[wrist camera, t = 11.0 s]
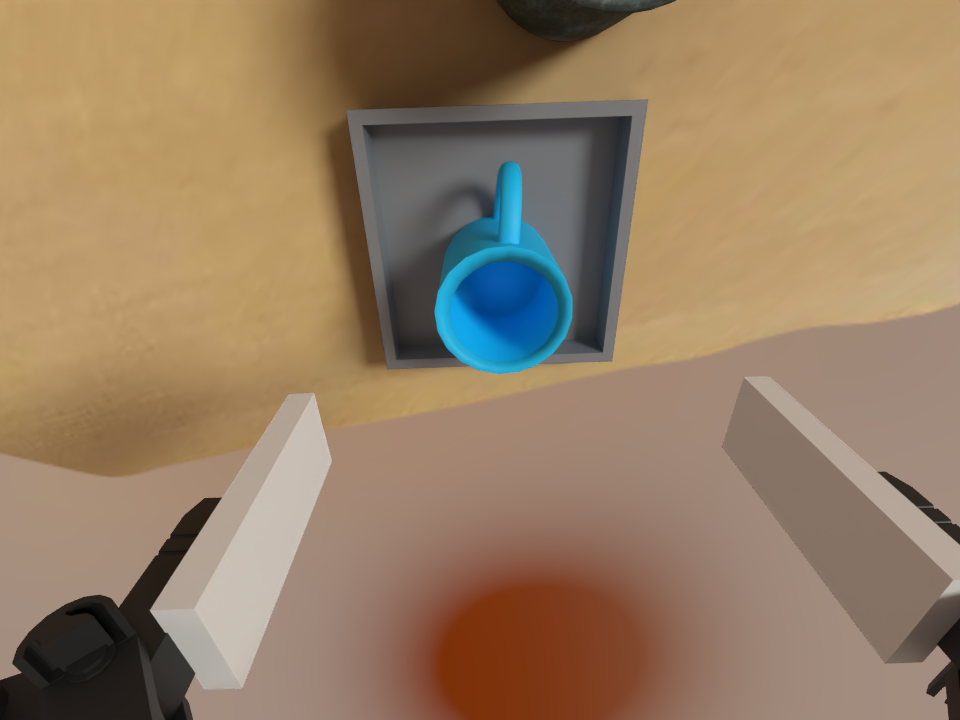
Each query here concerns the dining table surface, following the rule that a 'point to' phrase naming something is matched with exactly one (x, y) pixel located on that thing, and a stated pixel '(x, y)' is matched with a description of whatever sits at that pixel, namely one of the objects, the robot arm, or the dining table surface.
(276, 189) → the dining table surface
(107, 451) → the dining table surface
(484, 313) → the mug
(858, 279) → the dining table surface
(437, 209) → the tray
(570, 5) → the mug
